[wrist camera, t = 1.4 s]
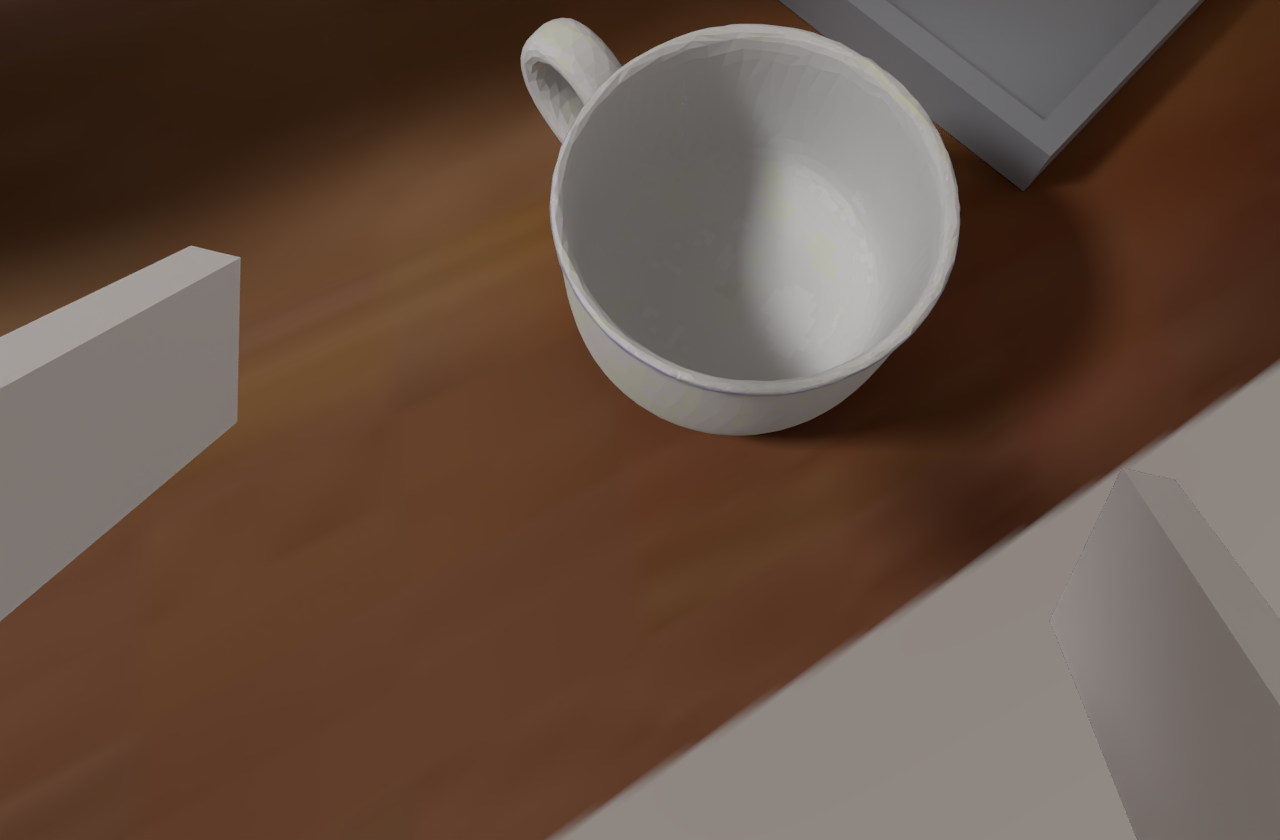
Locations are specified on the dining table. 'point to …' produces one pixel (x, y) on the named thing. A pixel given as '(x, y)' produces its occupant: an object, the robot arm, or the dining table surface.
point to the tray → (1005, 63)
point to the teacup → (741, 217)
